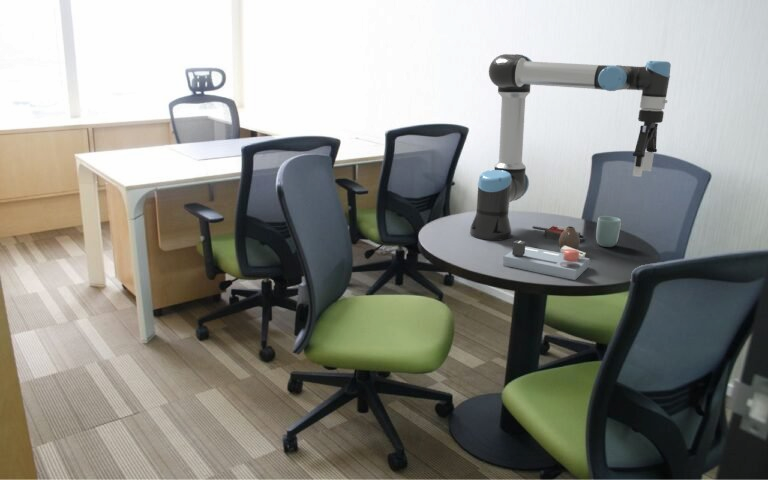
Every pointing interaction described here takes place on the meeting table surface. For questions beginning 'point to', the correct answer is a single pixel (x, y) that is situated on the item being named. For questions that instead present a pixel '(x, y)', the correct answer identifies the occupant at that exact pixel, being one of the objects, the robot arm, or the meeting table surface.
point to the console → (546, 263)
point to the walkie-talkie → (554, 232)
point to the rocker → (581, 254)
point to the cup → (607, 231)
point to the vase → (569, 238)
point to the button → (571, 255)
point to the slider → (518, 248)
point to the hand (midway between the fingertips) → (641, 173)
